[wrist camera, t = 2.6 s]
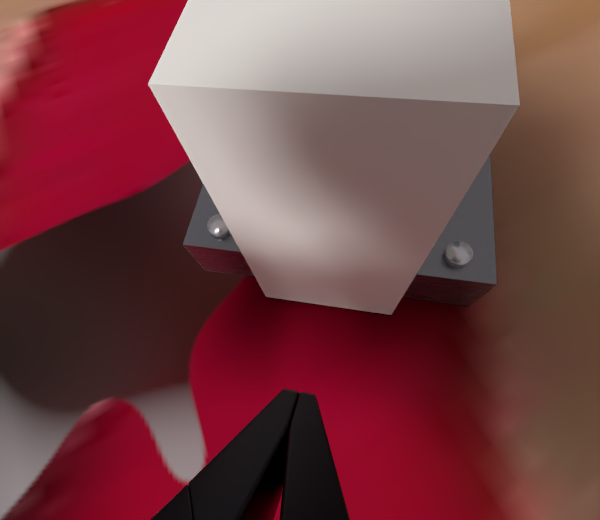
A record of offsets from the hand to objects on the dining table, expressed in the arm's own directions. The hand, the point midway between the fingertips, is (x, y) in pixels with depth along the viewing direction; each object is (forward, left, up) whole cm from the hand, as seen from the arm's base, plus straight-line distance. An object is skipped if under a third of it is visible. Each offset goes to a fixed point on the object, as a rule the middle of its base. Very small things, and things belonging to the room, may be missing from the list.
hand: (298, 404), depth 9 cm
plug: (+5, +6, -7) cm, 10 cm away
